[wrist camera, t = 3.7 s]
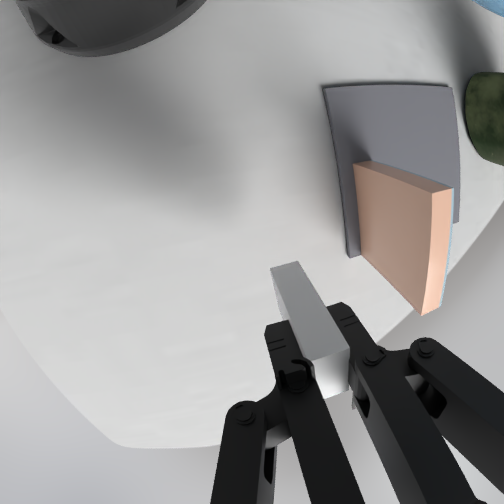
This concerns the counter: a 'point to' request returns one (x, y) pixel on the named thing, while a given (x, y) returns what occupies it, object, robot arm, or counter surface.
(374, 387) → the robot arm
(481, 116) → the green bottle
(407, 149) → the mat
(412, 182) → the tile
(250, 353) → the counter surface
